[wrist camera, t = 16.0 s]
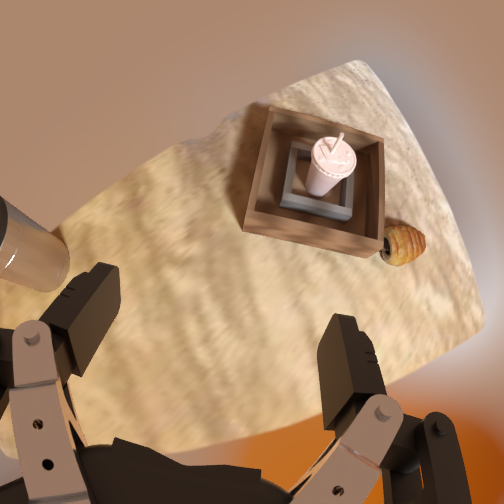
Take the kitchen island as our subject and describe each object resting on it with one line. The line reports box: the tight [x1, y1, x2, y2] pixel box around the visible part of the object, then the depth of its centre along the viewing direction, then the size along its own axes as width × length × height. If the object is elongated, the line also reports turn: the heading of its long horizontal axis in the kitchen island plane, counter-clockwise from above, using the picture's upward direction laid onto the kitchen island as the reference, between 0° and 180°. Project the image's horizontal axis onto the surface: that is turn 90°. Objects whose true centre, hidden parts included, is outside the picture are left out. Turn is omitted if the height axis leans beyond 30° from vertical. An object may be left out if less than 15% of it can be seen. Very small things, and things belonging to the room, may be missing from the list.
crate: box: [242, 106, 385, 258], centre depth 47 cm, size 20×20×6 cm
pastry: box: [382, 225, 426, 266], centre depth 47 cm, size 9×7×4 cm
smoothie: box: [305, 133, 356, 197], centre depth 42 cm, size 6×6×14 cm
